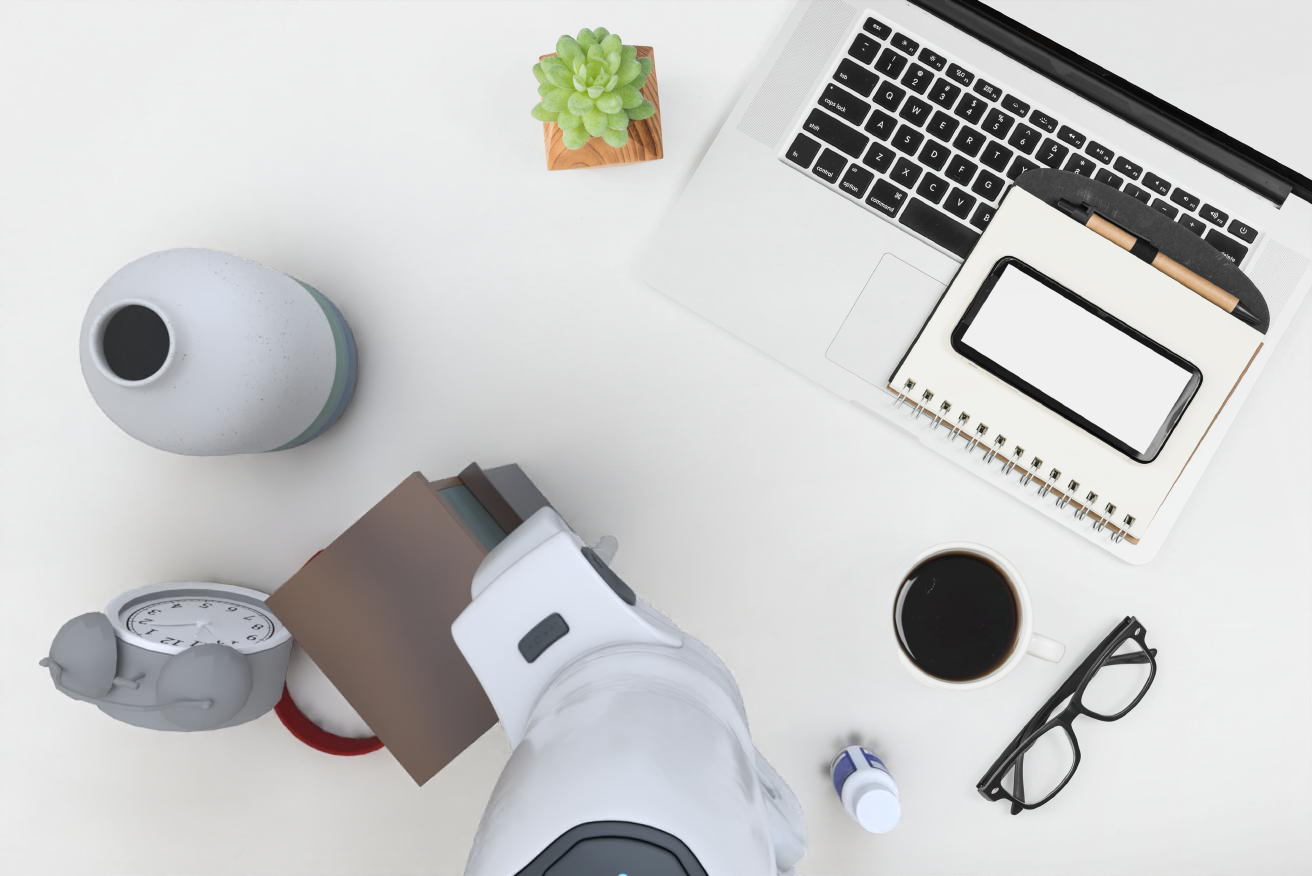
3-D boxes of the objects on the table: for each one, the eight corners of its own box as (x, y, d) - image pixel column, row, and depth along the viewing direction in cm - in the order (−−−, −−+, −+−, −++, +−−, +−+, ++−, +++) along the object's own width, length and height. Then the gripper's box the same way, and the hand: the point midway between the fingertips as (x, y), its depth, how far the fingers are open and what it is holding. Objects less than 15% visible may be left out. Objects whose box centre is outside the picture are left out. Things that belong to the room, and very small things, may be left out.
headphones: (300, 534, 82) (285, 719, 86) (263, 555, 75) (248, 756, 79) (446, 558, 82) (425, 743, 85) (422, 581, 75) (400, 781, 78)
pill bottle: (837, 802, 82) (856, 848, 73) (823, 751, 82) (840, 791, 73) (889, 789, 82) (915, 833, 73) (875, 737, 82) (899, 775, 73)
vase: (375, 283, 82) (249, 224, 58) (372, 452, 83) (246, 463, 59) (208, 280, 83) (15, 221, 59) (206, 449, 83) (13, 458, 59)
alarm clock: (337, 606, 83) (213, 671, 61) (317, 689, 83) (186, 784, 61) (181, 565, 83) (2, 615, 61) (161, 648, 84) (-25, 727, 62)
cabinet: (530, 634, 82) (420, 788, 47) (440, 527, 83) (262, 602, 48) (619, 559, 82) (573, 658, 47) (527, 452, 82) (414, 471, 47)
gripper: (867, 887, 33) (812, 751, 47) (538, 500, 33) (580, 478, 47) (747, 985, 34) (728, 821, 47) (421, 600, 34) (497, 549, 48)
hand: (652, 647), depth 47 cm, fingers closed
